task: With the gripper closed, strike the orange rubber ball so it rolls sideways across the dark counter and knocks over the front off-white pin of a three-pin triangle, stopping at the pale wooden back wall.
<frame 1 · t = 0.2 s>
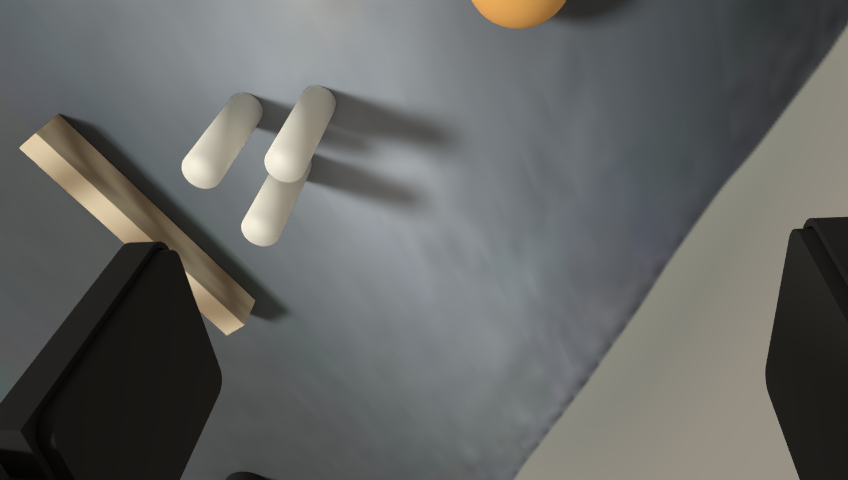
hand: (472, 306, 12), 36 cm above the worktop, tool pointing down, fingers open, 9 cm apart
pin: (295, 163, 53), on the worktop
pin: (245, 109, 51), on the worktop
back wall: (155, 219, 57), on the worktop
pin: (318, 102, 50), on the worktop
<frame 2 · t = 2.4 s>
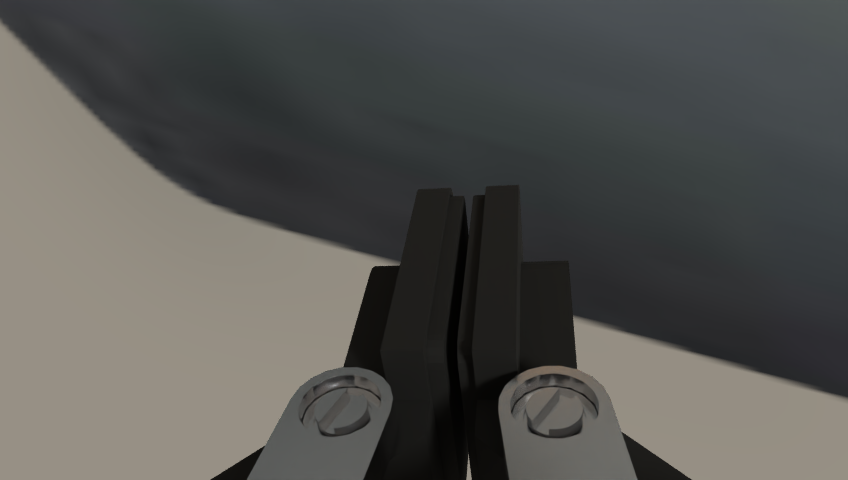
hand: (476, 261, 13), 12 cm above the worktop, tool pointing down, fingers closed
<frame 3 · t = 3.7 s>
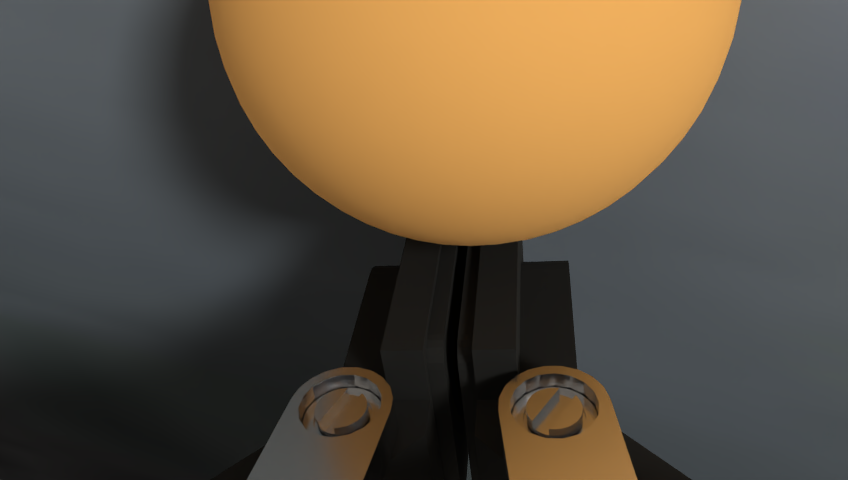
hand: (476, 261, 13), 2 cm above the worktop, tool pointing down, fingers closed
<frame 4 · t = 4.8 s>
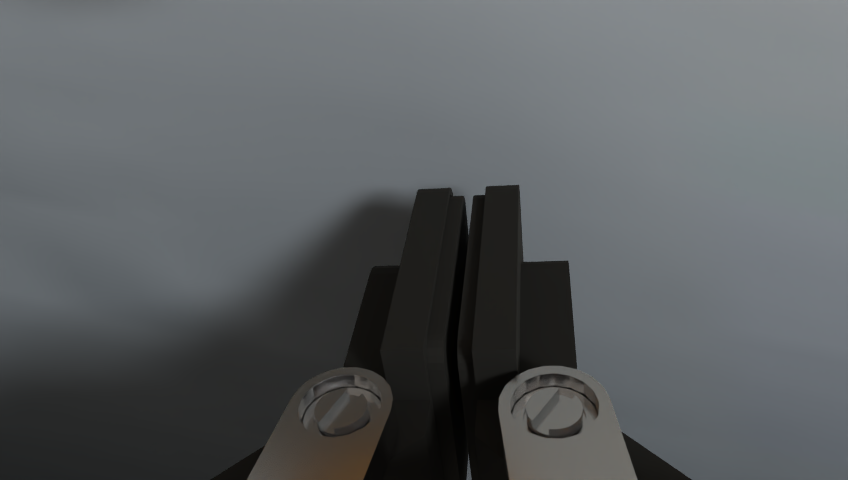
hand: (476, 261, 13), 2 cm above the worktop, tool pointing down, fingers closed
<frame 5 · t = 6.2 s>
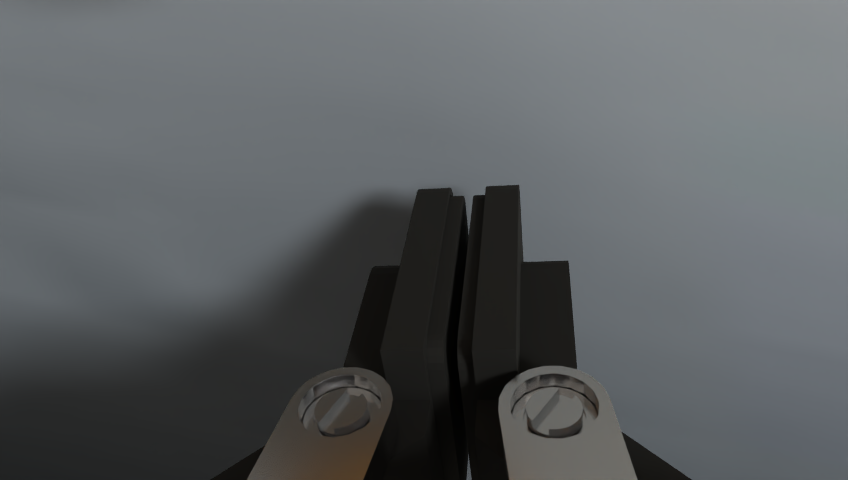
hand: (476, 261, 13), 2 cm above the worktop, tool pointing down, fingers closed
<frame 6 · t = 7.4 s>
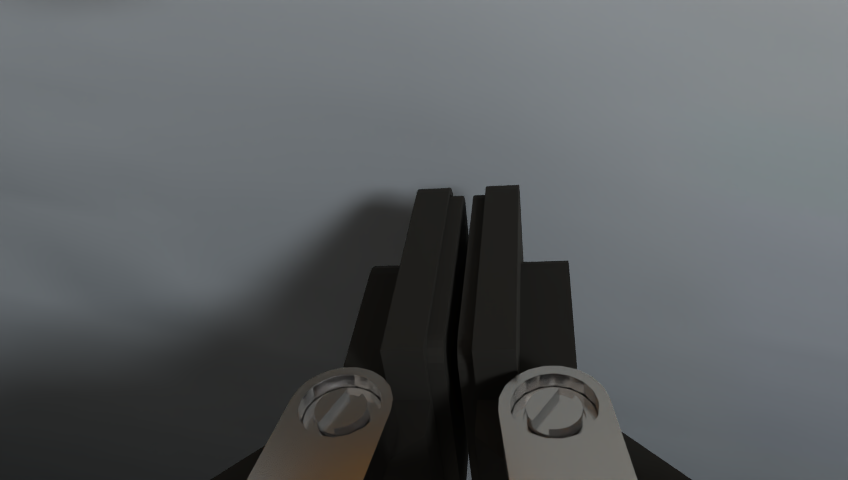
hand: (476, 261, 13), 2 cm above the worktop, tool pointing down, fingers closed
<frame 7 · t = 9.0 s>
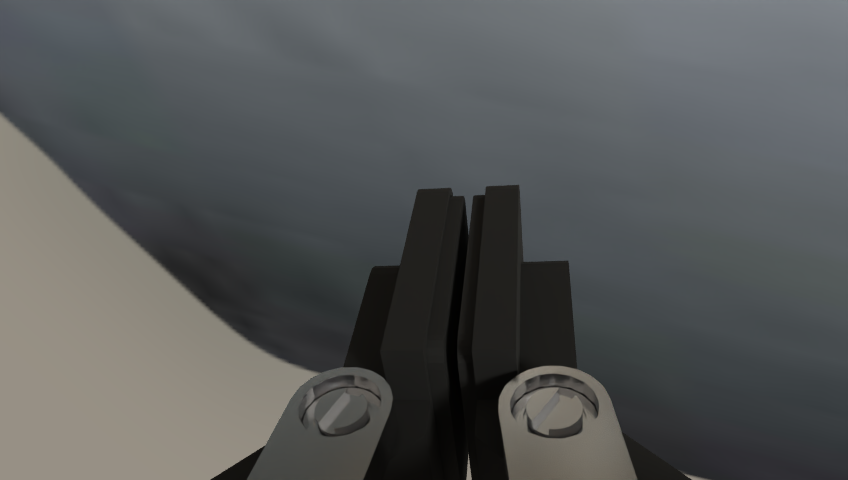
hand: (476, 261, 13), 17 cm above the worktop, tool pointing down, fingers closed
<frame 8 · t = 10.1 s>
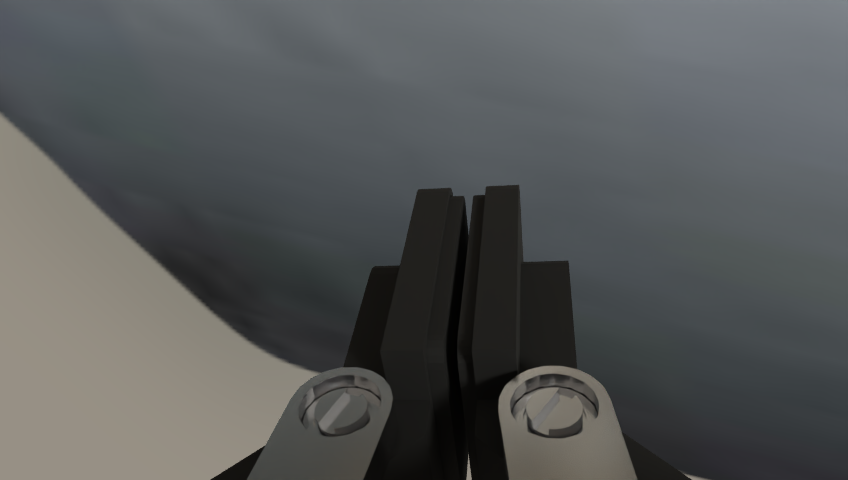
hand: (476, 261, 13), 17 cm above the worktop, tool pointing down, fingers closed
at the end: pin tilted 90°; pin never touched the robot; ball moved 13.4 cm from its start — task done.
